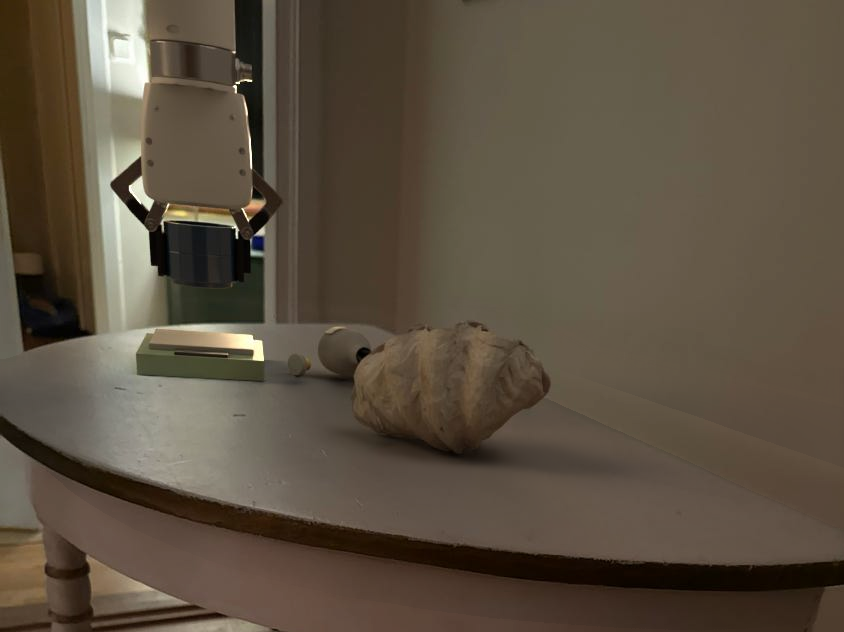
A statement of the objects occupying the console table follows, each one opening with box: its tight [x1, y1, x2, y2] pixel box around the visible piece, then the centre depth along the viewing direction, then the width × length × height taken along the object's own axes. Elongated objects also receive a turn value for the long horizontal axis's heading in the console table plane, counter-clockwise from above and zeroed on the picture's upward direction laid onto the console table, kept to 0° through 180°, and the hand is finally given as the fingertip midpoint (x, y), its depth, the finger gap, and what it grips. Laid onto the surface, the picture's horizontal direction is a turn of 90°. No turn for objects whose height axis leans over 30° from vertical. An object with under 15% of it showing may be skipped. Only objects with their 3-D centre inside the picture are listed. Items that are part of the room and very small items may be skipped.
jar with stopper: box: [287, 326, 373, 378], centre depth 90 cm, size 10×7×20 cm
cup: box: [162, 219, 238, 289], centre depth 91 cm, size 7×7×6 cm
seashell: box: [350, 319, 552, 454], centre depth 73 cm, size 10×15×10 cm
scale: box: [135, 328, 265, 382], centre depth 94 cm, size 12×12×3 cm
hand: (202, 276), depth 91 cm, fingers closed on cup, 6 cm apart
